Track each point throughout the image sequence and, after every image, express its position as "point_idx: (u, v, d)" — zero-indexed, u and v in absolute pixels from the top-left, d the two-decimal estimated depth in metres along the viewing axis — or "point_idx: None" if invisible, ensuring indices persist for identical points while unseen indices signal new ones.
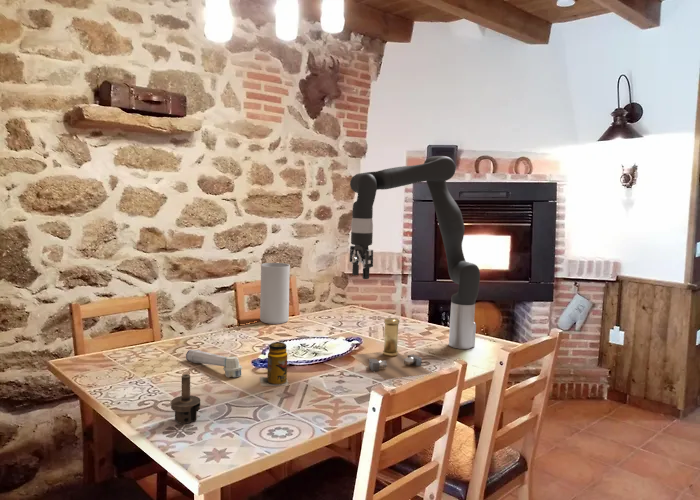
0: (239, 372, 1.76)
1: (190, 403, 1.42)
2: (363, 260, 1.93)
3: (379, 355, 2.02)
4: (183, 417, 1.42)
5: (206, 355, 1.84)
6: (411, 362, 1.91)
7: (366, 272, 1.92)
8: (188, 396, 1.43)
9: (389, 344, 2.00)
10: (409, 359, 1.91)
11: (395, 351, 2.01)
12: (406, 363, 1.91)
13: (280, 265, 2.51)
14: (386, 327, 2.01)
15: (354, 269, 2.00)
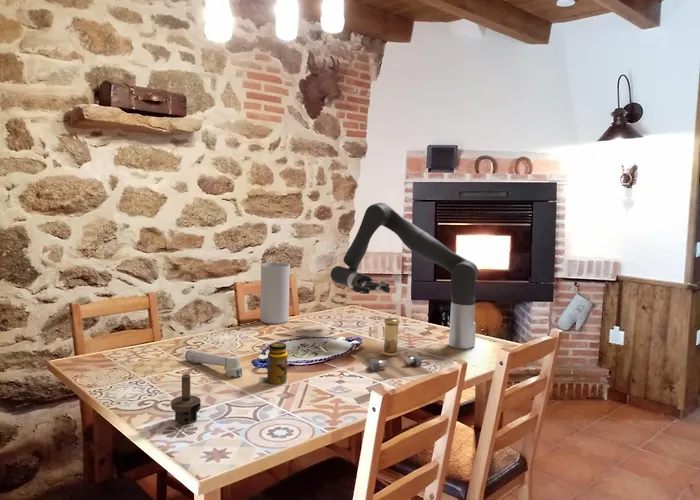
0: (240, 372, 1.77)
1: (190, 403, 1.42)
2: None
3: (379, 355, 2.02)
4: (183, 417, 1.42)
5: (206, 355, 1.84)
6: (411, 362, 1.91)
7: (363, 290, 2.10)
8: (188, 396, 1.43)
9: (389, 344, 2.00)
10: (409, 359, 1.91)
11: (395, 351, 2.01)
12: (406, 363, 1.91)
13: (280, 265, 2.51)
14: (386, 327, 2.01)
15: (385, 290, 2.14)
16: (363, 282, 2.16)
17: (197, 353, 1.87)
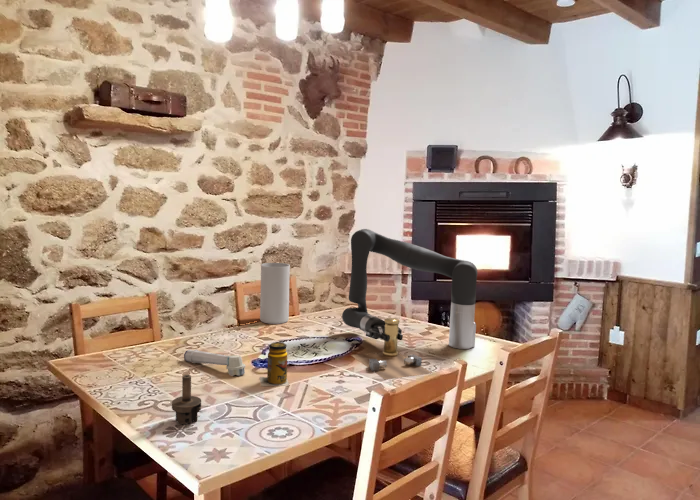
0: (243, 370, 1.78)
1: (191, 404, 1.42)
2: None
3: (379, 355, 2.02)
4: (184, 418, 1.41)
5: (206, 355, 1.84)
6: (411, 362, 1.91)
7: (382, 338, 2.01)
8: (189, 396, 1.42)
9: (389, 344, 2.00)
10: (409, 359, 1.91)
11: (395, 351, 2.01)
12: (406, 363, 1.91)
13: (280, 265, 2.51)
14: (386, 327, 2.01)
15: None
16: (378, 327, 2.07)
17: (196, 353, 1.87)
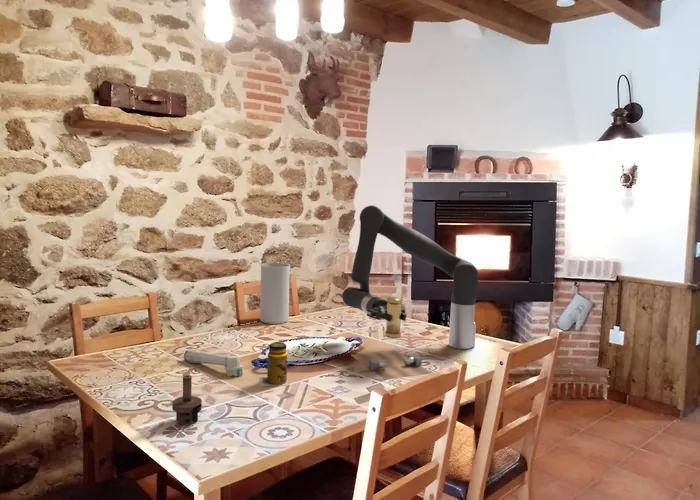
0: (240, 371, 1.77)
1: (191, 404, 1.41)
2: None
3: (379, 355, 2.02)
4: (184, 418, 1.41)
5: (205, 355, 1.84)
6: (411, 362, 1.91)
7: (384, 317, 1.88)
8: (189, 397, 1.42)
9: (391, 324, 1.88)
10: (409, 359, 1.91)
11: (398, 332, 1.89)
12: (406, 363, 1.91)
13: (280, 265, 2.51)
14: (388, 306, 1.88)
15: None
16: (380, 307, 1.94)
17: (196, 353, 1.87)
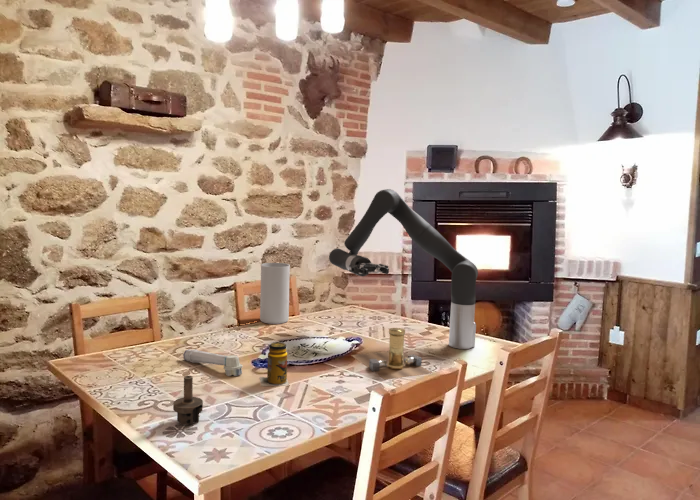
0: (240, 370, 1.78)
1: (192, 404, 1.41)
2: None
3: (379, 355, 2.02)
4: (185, 418, 1.41)
5: (205, 354, 1.85)
6: (411, 362, 1.91)
7: (361, 272, 2.05)
8: (190, 397, 1.42)
9: (394, 356, 1.87)
10: (409, 359, 1.91)
11: (401, 363, 1.88)
12: (406, 363, 1.91)
13: (280, 265, 2.51)
14: (391, 338, 1.87)
15: (384, 272, 2.08)
16: (361, 264, 2.11)
17: (195, 353, 1.87)
